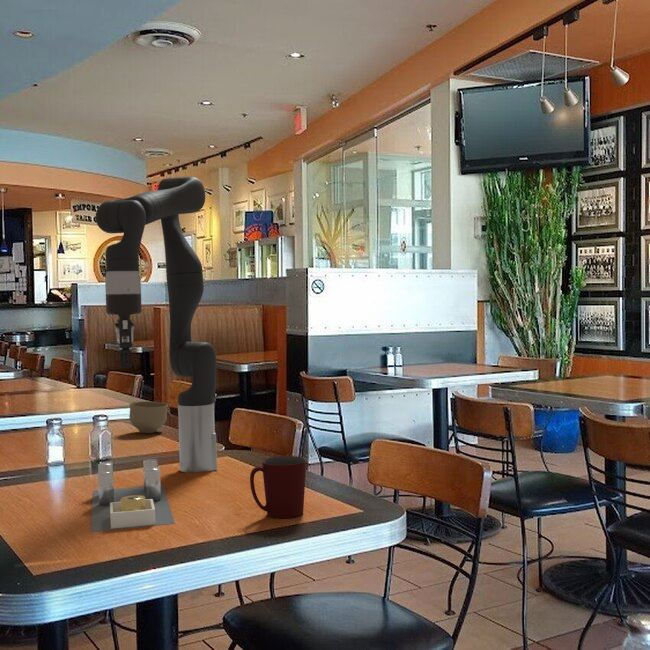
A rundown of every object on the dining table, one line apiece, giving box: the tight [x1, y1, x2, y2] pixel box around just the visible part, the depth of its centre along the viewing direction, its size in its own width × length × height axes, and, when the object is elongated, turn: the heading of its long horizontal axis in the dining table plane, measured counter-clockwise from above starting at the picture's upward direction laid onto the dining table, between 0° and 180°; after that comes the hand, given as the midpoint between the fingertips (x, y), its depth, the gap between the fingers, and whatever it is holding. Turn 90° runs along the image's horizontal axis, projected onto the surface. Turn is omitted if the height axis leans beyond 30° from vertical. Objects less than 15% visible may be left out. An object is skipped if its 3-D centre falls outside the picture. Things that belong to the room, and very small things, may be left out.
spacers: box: [97, 458, 162, 506], centre depth 181 cm, size 13×12×7 cm
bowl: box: [128, 401, 169, 434], centre depth 268 cm, size 13×13×10 cm
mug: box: [249, 455, 307, 519], centre depth 165 cm, size 12×9×11 cm
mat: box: [90, 484, 176, 533], centre depth 173 cm, size 16×34×1 cm, turn 15°
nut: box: [120, 495, 145, 512], centre depth 162 cm, size 5×5×4 cm
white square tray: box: [110, 499, 155, 529], centre depth 162 cm, size 8×8×3 cm
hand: (125, 366), depth 177 cm, fingers open, 8 cm apart
